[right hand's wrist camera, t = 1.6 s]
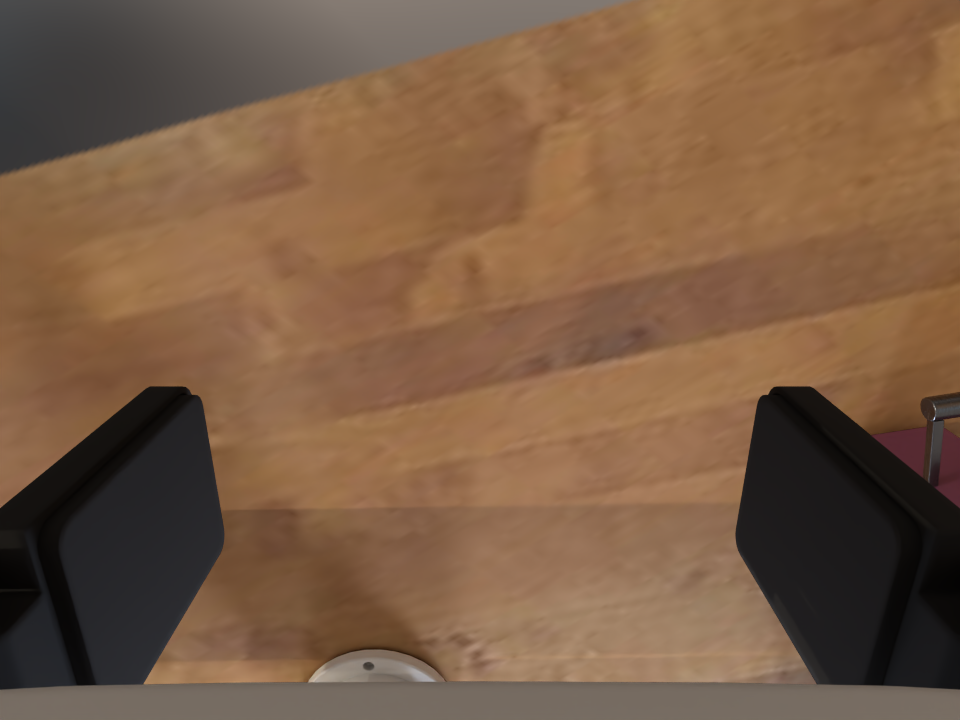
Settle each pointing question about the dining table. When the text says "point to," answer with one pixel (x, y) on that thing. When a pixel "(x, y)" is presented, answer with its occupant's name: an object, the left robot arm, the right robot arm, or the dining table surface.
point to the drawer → (931, 446)
